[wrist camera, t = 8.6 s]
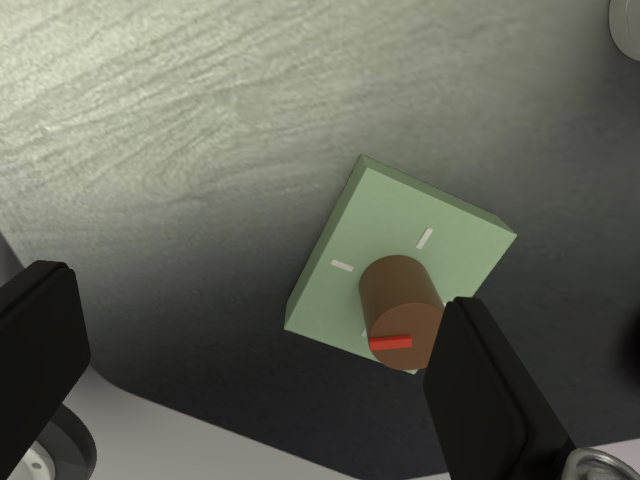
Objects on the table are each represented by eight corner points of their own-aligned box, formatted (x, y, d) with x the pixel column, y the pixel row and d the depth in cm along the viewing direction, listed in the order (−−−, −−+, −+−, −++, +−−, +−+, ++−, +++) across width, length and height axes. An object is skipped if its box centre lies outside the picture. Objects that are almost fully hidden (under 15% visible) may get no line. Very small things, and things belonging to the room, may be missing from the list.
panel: (405, 346, 31) (415, 376, 28) (286, 302, 29) (283, 330, 26) (497, 215, 26) (519, 236, 23) (361, 153, 24) (367, 167, 21)
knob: (429, 250, 24) (458, 302, 19) (429, 310, 25) (455, 371, 21) (356, 258, 24) (366, 311, 19) (361, 317, 26) (371, 378, 21)
